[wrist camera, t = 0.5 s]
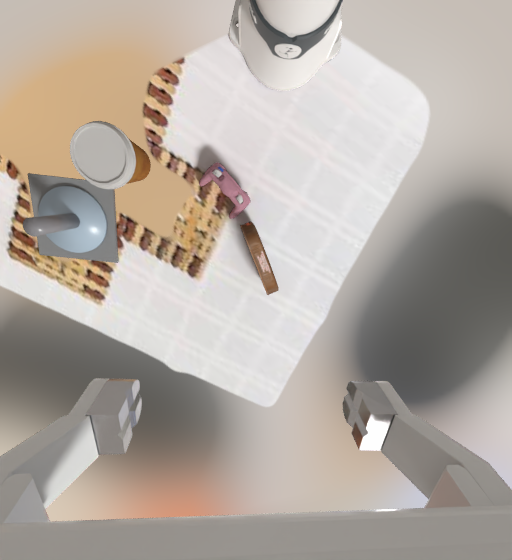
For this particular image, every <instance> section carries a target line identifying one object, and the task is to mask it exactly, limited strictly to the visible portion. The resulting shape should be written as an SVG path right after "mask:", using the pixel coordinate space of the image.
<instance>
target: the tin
mask: <svg viewBox="0 0 512 560" xmlns="http://www.w3.org/2000/svg"><path fill="white" fill-rule="evenodd" d="M240 226H241V229H242V232H243V234H244V237H245V240H246V242H247V245H248V247H249V250H250V253H251V255H252V258H253V260H254V263H255V265H256V268H257V270H258V273H259V275H260V278H261V280H262V283H263V286H264V288H265V290H266V293H267V295H269V294H271V293H273V292H276V291H278V285H277V282H276V279H275V277H274V274H273V271H272V268H271V266H270V263H269V260H268V258H267V255H266V252H265V250H264V247H263V245H262V242H261V240H260V237H259V235H258V232H257V230H256V228H255V226H254V224H253V223H252V222H249V223H246V224H244V225H240Z"/></svg>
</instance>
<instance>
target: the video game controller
mask: <svg viewBox="0 0 512 560" xmlns="http://www.w3.org/2000/svg"><path fill="white" fill-rule="evenodd" d="M212 179H213V181H214V182H215V183H216V184H217V185H218V186H219V188H220V189H221V191H222V192H223V193H224V194H225V195H226V196H228V197H229V198H230V199H231V201H232V202H233V203H234V204H235V207H234V209H233V210H232V211H231V213H230V215H229V218H230V219H232V218H235V217H236V216H238V215H239V214H240V213H241V212H242V211H243V210H244V209H245V208H246V207H247V205H248V204H249V203H250V199H249V196H248V194H247V192H245V191H243V190H242V189H241V188H240V186H239V185H238V184H237V183H236V181H235V180H234V179H233V178H232V177H231V176H230V175H229V174H228V173H227V171H226V169H225V168H224V167H223V166H222V165H221V164H220V163H218V162H216V163H215V164H214V165H212V166H211V167H209V168H208V169H207V171H206V172H205V174H204V175H203V177H202V178H201V179H200V182H199V185H200V186H204V185H205V184H207V183H208V182H209V181H211V180H212Z"/></svg>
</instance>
